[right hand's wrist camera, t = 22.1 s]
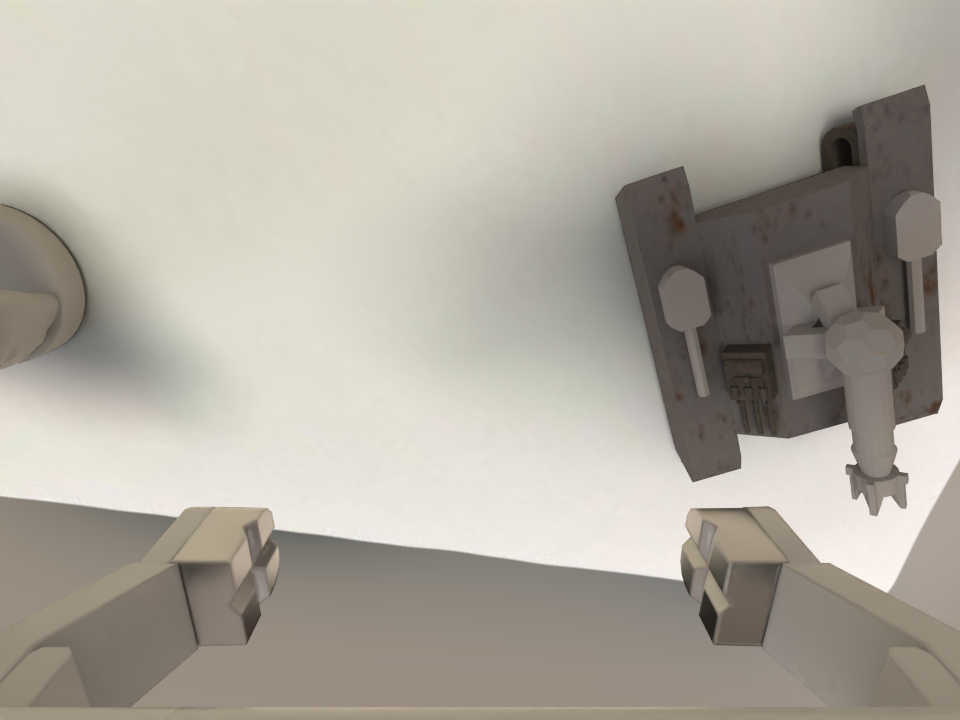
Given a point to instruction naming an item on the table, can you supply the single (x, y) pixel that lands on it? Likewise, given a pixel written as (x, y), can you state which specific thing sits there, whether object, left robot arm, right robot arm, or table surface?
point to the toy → (799, 299)
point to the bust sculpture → (35, 289)
